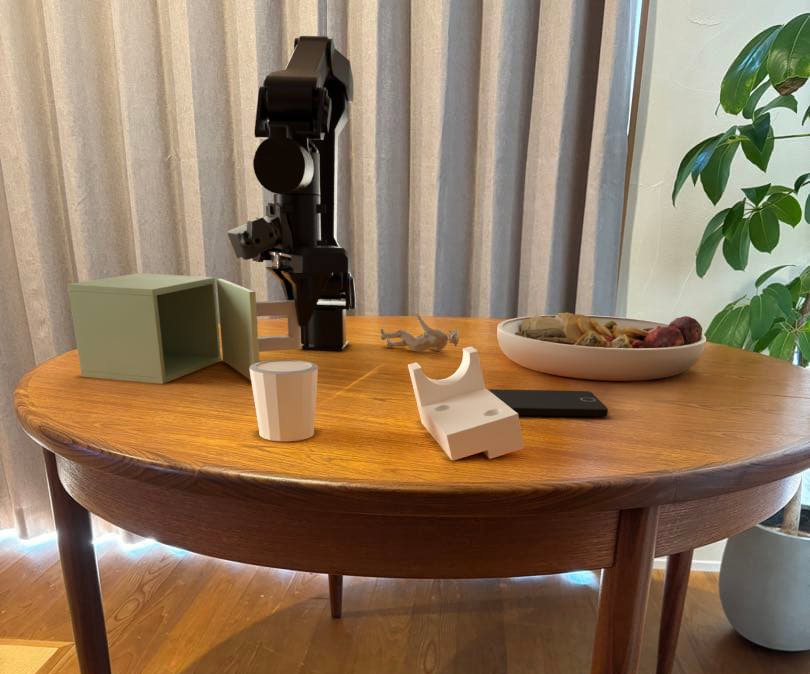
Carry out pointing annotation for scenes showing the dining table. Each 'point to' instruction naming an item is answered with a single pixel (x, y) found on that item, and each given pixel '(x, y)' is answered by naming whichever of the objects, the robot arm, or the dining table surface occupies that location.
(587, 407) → the cell phone
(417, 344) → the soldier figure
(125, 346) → the cupboard
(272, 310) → the cupboard door
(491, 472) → the dining table surface
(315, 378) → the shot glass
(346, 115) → the robot arm
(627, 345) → the bowl
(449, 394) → the bracket
